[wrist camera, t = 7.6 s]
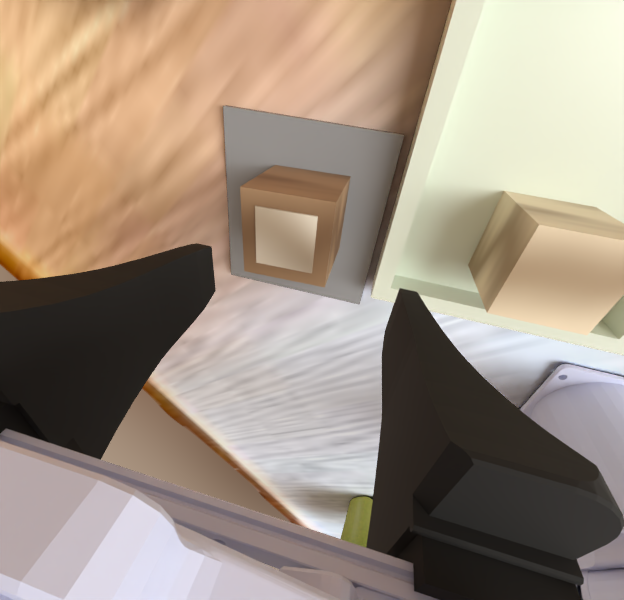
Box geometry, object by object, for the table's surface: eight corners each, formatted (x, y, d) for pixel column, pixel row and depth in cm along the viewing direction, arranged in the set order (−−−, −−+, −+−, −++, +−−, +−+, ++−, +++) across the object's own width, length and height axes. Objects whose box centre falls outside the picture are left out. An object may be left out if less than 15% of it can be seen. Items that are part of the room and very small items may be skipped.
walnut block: (339, 247, 20) (324, 288, 16) (274, 235, 20) (243, 272, 16) (350, 176, 17) (335, 203, 13) (275, 164, 18) (239, 187, 14)
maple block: (545, 281, 18) (587, 335, 14) (467, 264, 19) (487, 312, 15) (595, 207, 15) (665, 248, 11) (503, 190, 16) (539, 224, 12)
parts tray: (604, 331, 19) (625, 355, 18) (373, 280, 21) (370, 297, 19) (984, -75, 9) (1120, -112, 8) (482, -109, 11) (498, -145, 9)
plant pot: (370, 527, 44) (365, 609, 37) (323, 496, 42) (308, 576, 35) (424, 518, 39) (430, 612, 32) (374, 482, 37) (368, 574, 30)
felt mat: (360, 301, 22) (359, 304, 22) (233, 272, 24) (231, 274, 23) (404, 134, 16) (404, 135, 16) (226, 105, 17) (223, 105, 17)
